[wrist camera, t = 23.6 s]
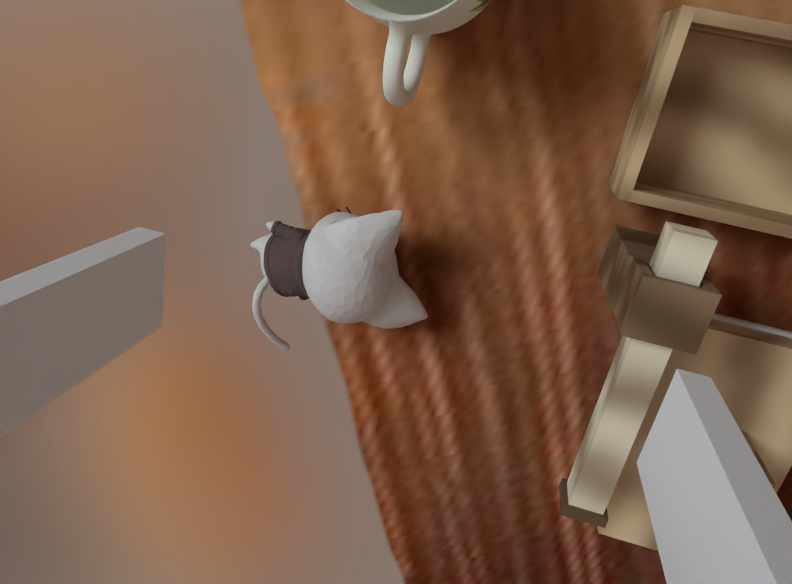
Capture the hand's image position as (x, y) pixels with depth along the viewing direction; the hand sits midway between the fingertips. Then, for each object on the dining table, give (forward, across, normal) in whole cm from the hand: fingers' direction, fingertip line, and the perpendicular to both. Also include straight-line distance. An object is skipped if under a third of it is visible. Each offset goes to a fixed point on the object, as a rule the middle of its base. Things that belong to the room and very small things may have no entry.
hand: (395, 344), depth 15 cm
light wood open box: (+35, +20, +2) cm, 40 cm away
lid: (+34, +23, -19) cm, 45 cm away
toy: (+35, -10, -12) cm, 38 cm away
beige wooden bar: (+26, +13, -11) cm, 31 cm away
